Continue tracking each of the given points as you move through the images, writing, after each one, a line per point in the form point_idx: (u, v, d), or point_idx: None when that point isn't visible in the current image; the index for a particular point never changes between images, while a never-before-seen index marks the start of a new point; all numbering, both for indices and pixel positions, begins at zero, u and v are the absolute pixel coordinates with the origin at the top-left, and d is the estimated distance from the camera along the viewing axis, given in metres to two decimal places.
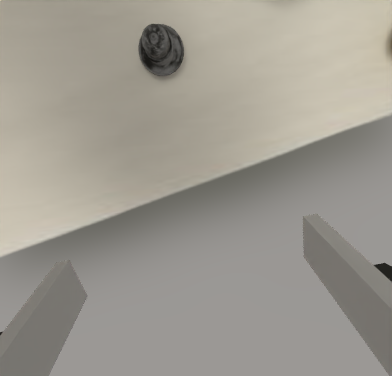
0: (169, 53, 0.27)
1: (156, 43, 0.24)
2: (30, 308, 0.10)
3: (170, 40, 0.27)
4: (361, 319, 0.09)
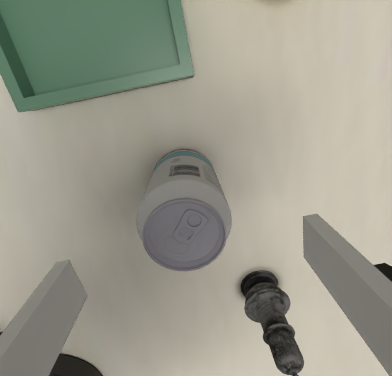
0: (288, 328, 0.25)
1: (298, 370, 0.23)
2: (30, 308, 0.10)
3: (277, 327, 0.25)
4: (361, 319, 0.09)
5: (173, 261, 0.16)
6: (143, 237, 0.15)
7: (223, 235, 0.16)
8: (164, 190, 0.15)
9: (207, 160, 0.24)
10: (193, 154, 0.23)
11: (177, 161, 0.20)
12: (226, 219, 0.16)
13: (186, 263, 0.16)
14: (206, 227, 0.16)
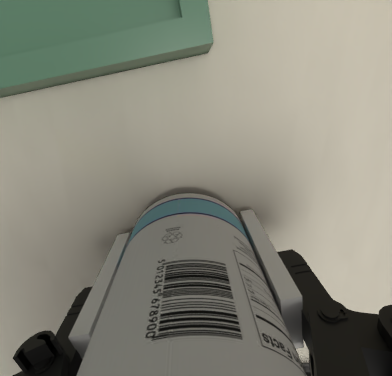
0: None
1: None
2: (110, 267, 0.11)
3: None
4: None
5: None
6: None
7: None
8: None
9: (232, 213, 0.13)
10: (208, 207, 0.11)
11: (175, 240, 0.09)
12: None
13: None
14: None
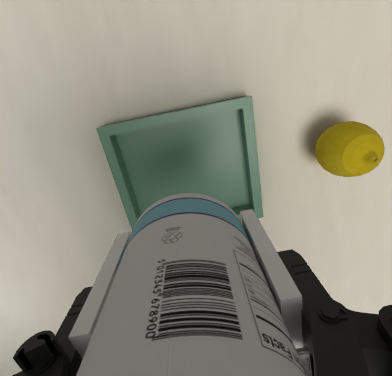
0: None
1: None
2: (110, 267, 0.11)
3: None
4: None
5: None
6: None
7: None
8: None
9: (233, 212, 0.13)
10: (208, 207, 0.11)
11: (175, 240, 0.09)
12: None
13: None
14: None
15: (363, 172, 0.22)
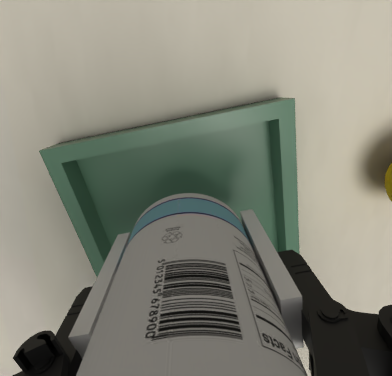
0: None
1: None
2: (110, 267, 0.11)
3: None
4: None
5: None
6: None
7: None
8: None
9: (233, 212, 0.13)
10: (208, 207, 0.11)
11: (175, 240, 0.09)
12: None
13: None
14: None
15: None
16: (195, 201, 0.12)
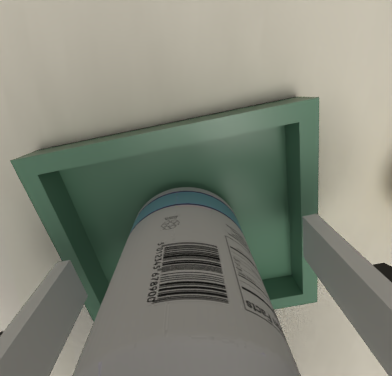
0: None
1: None
2: (31, 308, 0.10)
3: None
4: (360, 319, 0.09)
5: None
6: None
7: None
8: None
9: (227, 205, 0.14)
10: (203, 199, 0.12)
11: (173, 227, 0.10)
12: None
13: None
14: None
15: None
16: (192, 194, 0.13)
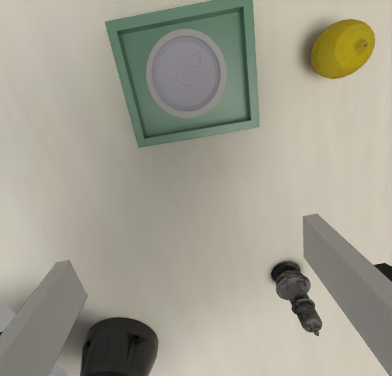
0: (311, 302, 0.36)
1: (318, 328, 0.33)
2: (30, 308, 0.10)
3: (303, 301, 0.36)
4: (361, 319, 0.09)
5: (176, 104, 0.19)
6: (151, 73, 0.18)
7: (218, 77, 0.19)
8: (171, 34, 0.18)
9: None
10: None
11: None
12: (221, 66, 0.19)
13: (187, 107, 0.20)
14: (204, 70, 0.19)
15: (354, 65, 0.24)
16: None
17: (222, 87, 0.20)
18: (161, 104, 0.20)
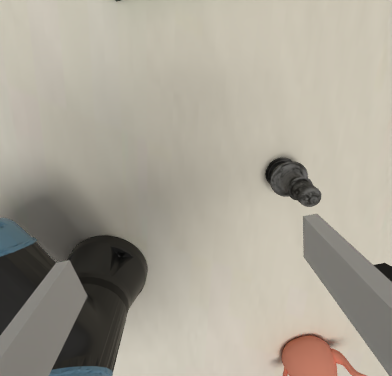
0: (308, 180, 0.32)
1: (317, 198, 0.30)
2: (30, 308, 0.10)
3: (299, 179, 0.32)
4: (361, 319, 0.09)
5: None
6: None
7: None
8: None
9: None
10: None
11: None
12: None
13: None
14: None
15: None
16: None
17: None
18: None
